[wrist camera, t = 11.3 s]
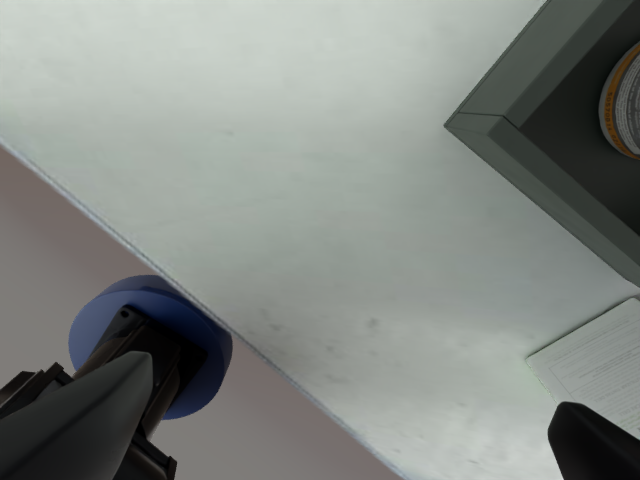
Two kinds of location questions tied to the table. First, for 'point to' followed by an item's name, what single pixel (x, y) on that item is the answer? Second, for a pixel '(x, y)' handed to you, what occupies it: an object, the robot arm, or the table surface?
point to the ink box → (598, 366)
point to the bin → (562, 124)
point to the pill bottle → (623, 104)
